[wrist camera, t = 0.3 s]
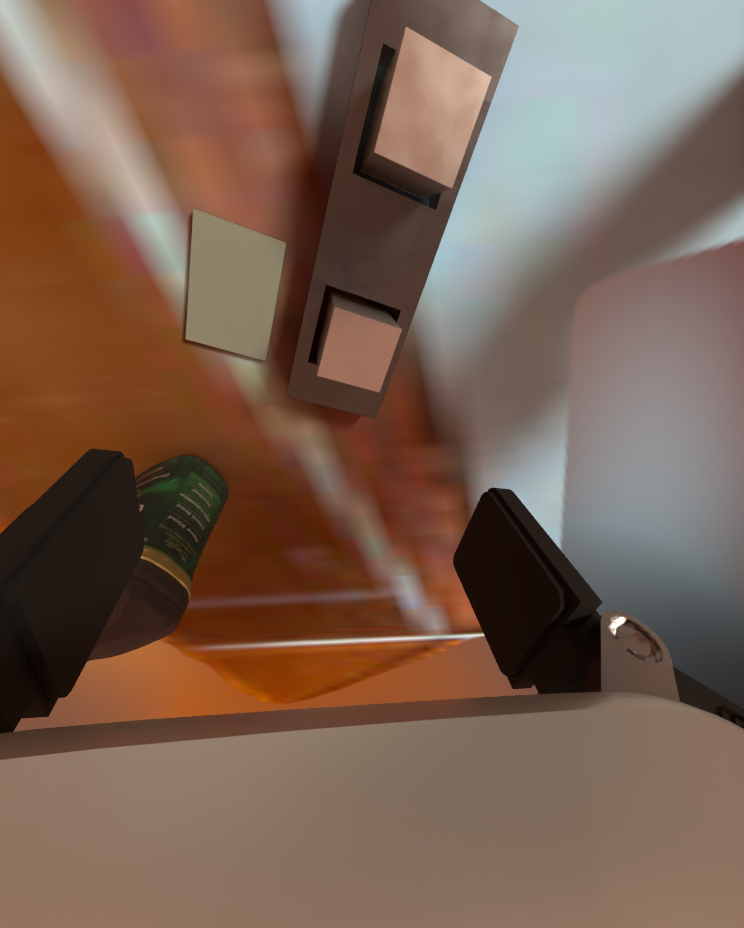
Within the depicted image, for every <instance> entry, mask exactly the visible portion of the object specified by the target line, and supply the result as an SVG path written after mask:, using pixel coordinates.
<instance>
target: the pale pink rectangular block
mask: <svg viewBox="0 0 744 928" xmlns="http://www.w3.org/2000/svg"><path fill="white" fill-rule="evenodd" d="M401 331H402V328H401V327H400V326H399V325H398V324H397V323H396V322H395V320H394V319H393V318H392V317H391V316H390V315H389V313H388V312H387V311H386V310H385V309H382V308H379V307H376V306H373V305H370V304H367V303H364V302H361V301H358V300H355V299H353V298H350V297H347V296H344V295H341V294H338V293H335V292H332V291H331V294H330V298H329V302H328V306H327V310H326V314H325V318H324V322H323V326H322V330H321V334H320V339H319V343H318V347H317V376H320V377H324V378H327V379H331V380H335V381H339V382H342V383H346V384H350V385H353V386H357V387H361V388H364V389H368V390H372V391H375V392H379V393H380V390H381V387H382V384H383V381H384V379H385V376H386V373H387V370H388V367H389V365H390V362H391V359H392V356H393V353H394V350H395V348H396V345H397V342H398V339H399V336H400V334H401Z"/></svg>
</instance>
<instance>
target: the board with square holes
mask: <svg viewBox="0 0 744 928" xmlns="http://www.w3.org/2000/svg"><path fill="white" fill-rule="evenodd" d="M406 27H408V28H410V29H411V30H413V31H415V32H416V33H418V34H420V35H421V36H423V37H425V38H426V39H428V40H430V41H432V42H433V43H435V44H437V45H438V46H440V47H442V48H443V49H445V50H447V51H449V52H450V53H452V54H454V55H455V56H457V57H459V58H460V59H462V60H464V61H466V62H467V63H469V64H471V65H472V66H474V67H476V68H477V69H479V70H481V71H483V72H484V73H486V74H488V75H489V76H491V77H492V78H491V80H490V83H489V86H488V89H487V92H486V95H485V97H484V100H483V103H482V106H481V109H480V111H479V114H478V117H477V120H476V123H475V125H474V128H473V131H472V134H471V137H470V140H469V142H468V145H467V148H466V151H465V154H464V156H463V159H462V162H461V165H460V168H459V170H458V173H457V176H456V179H455V182H454V185H453V187H452V189H449V190H446V191H443V192H440V193H437V194H434V195H431V197H430V200H429V203H428V206H425V205H423V204H421V203H419V202H416V201H414V200H412V199H410V198H407V197H405V196H403V195H401V194H398V193H396V192H394V191H392V190H389V189H387V188H385V187H383V186H380V185H378V184H376V183H374V182H371V181H369V180H367V179H365V178H362V177H360V176H358V175H356V174H353V169H354V164H355V160H356V156H357V152H358V147H359V143H360V139H361V135H362V131H363V126H364V122H365V118H366V114H367V109H368V105H369V101H370V97H371V92H372V88H373V84H374V80H375V76H376V71H377V67H378V63H379V64H381V65H382V66H384V67H386V68H388V67H389V65H390V63H391V61H392V58H393V56H394V54H395V51H396V49H397V47H398V44H399V42H400V40H401V37H402V35H403V33H404V30H405V28H406ZM518 27H519V26H518V25H517V24H515V23H514V22H512V21H511V20H509V19H507V18H506V17H504V16H503V15H501V14H500V13H498V12H497V11H495V10H494V9H492V8H491V7H489V6H488V5H486V4H484V3H483V2H481V1H480V0H371V4H370V9H369V13H368V18H367V22H366V27H365V32H364V36H363V41H362V46H361V50H360V55H359V60H358V64H357V69H356V73H355V78H354V83H353V87H352V92H351V97H350V101H349V106H348V111H347V115H346V120H345V124H344V129H343V134H342V138H341V143H340V148H339V152H338V157H337V162H336V166H335V171H334V176H333V180H332V185H331V189H330V194H329V199H328V203H327V208H326V213H325V217H324V222H323V227H322V231H321V236H320V240H319V245H318V250H317V254H316V259H315V264H314V268H313V273H312V278H311V282H310V287H309V291H308V296H307V301H306V305H305V310H304V315H303V319H302V324H301V329H300V333H299V338H298V342H297V347H296V352H295V356H294V361H293V366H292V370H291V375H290V380H289V384H288V389H287V395H286V397H290V398H294V399H298V400H303V401H307V402H311V403H315V404H319V405H323V406H327V407H331V408H335V409H339V410H343V411H347V412H351V413H355V414H359V415H363V416H367V417H371V418H375V419H376V417H377V414H378V412H379V409H380V406H381V403H382V401H383V398H384V395H385V392H386V390H387V387H388V384H389V381H390V379H391V376H392V373H393V370H394V368H395V365H396V362H397V359H398V357H399V354H400V351H401V348H402V346H403V343H404V340H405V337H406V335H407V332H408V329H409V327H410V324H411V321H412V318H413V316H414V313H415V310H416V307H417V305H418V302H419V299H420V296H421V294H422V291H423V288H424V285H425V283H426V280H427V277H428V274H429V272H430V269H431V266H432V263H433V261H434V258H435V255H436V252H437V250H438V247H439V244H440V241H441V239H442V236H443V233H444V230H445V228H446V225H447V222H448V219H449V217H450V214H451V211H452V208H453V206H454V203H455V200H456V197H457V195H458V192H459V189H460V186H461V184H462V181H463V178H464V175H465V173H466V170H467V167H468V164H469V162H470V159H471V156H472V154H473V151H474V148H475V145H476V143H477V140H478V137H479V134H480V132H481V129H482V126H483V123H484V121H485V118H486V115H487V112H488V110H489V107H490V104H491V101H492V99H493V96H494V93H495V90H496V88H497V85H498V82H499V79H500V77H501V74H502V71H503V68H504V66H505V63H506V60H507V57H508V55H509V52H510V49H511V46H512V44H513V41H514V38H515V35H516V33H517V30H518ZM326 285H329V286H332V287H335V288H338V289H341V290H344V291H347V292H350V293H352V294H355V295H358V296H361V297H364V298H367V299H370V300H373V301H376V302H378V303H381V304H384V305H387V306H390V307H393V311H392V314H391V317H392V318H393V319H394V320H395V322H396V323H397V324H398V325H399V326H400V327H401V328H402V331H401V334H400V336H399V339H398V342H397V345H396V348H395V350H394V353H393V356H392V359H391V362H390V365H389V367H388V370H387V373H386V376H385V379H384V381H383V384H382V387H381V390H380V393H379V392H375V391H372V390H368V389H364V388H361V387H357V386H353V385H350V384H346V383H342V382H339V381H335V380H331V379H327V378H324V377H320V376H317V355H314V354H310V350H311V346H312V342H313V338H314V334H315V329H316V325H317V321H318V317H319V312H320V308H321V304H322V300H323V295H324V291H325V287H326Z"/></svg>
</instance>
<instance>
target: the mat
mask: <svg viewBox="0 0 744 928" xmlns="http://www.w3.org/2000/svg"><path fill="white" fill-rule="evenodd" d="M286 245H287V243H286V242H283V241H280V240H277V239H275V238H272V237H269V236H267V235H264V234H261V233H258V232H256V231H253V230H250V229H248V228H245V227H242V226H239V225H237V224H234V223H231V222H229V221H226V220H223V219H220V218H218V217H215V216H212V215H210V214H207V213H204V212H201V211H199V210H196V209H193V222H192V239H191V256H190V273H189V290H188V307H187V324H186V339H187V340H191V341H194V342H198V343H202V344H205V345H209V346H213V347H216V348H220V349H224V350H227V351H231V352H235V353H238V354H242V355H246V356H249V357H253V358H257V359H260V360H264V361H266V358H267V353H268V347H269V341H270V336H271V330H272V324H273V319H274V313H275V307H276V302H277V296H278V290H279V285H280V279H281V273H282V268H283V262H284V256H285V251H286Z"/></svg>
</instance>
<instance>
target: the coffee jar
mask: <svg viewBox="0 0 744 928" xmlns="http://www.w3.org/2000/svg"><path fill="white" fill-rule="evenodd" d="M135 482H136V489H137V496H138V502H139V509H140V516H141V523H142V530H143V536H144V550H143V553H142V556H141V558H140V560H139V562H138V564H137V566H136V568H135V570H134V571H133V573H132V575H131V577H130V579H129V581H128V583H127V585H126V587H125V589H124V591H123V593H122V595H121V596H120V598H119V600H118V602H117V604H116V606H115V608H114V610H113V612H112V614H111V616H110V618H109V620H108V621H107V623H106V625H105V627H104V629H103V631H102V633H101V635H100V637H99V639H98V641H97V643H96V645H95V646H94V648H93V650H92V652H91V654H90V656H89V658H88V660H87V661H90V660H94V659H102V658H109V657H113V656H117V655H121V654H124V653H127V652H129V651H132V650H135V649H138V648H140V647H143V646H145V645H148V644H150V643H152V642H155V641H157V640H159V639H161V638H163V637H165V636H167V635H169V634H171V633H172V632H173V631H174V630H175V629H176V627H177V626H178V624H179V622H180V620H181V618H182V616H183V614H184V612H185V609H186V607H187V605H188V603H189V600H190V597H191V592H192V578H193V575H194V571H195V569H196V566H197V564H198V561H199V559H200V557H201V554H202V552H203V550H204V548H205V545H206V543H207V541H208V538H209V536H210V534H211V532H212V529H213V528H214V525H215V523H216V521H217V519H218V517H219V515H220V513H221V511H222V509H223V506H224V504H225V502H226V499H227V497H228V488H227V485H226V483H225V481H224V480H223V478H222V477H221V476H220V475H219V473H218V472H217V471H216V470H215V469H214V468H213V467H212V466H211V465H210V464H208V463H207V462H206V461H204V460H203V459H200V458H198V457H195V456H190V455H184V456H179V457H175V458H172V459H170V460H167V461H164V462H162V463H160V464H158V465H156V466H154V467H152V468H150V469H149V470H147V471H145V472H144V473H142V474H141V475H140V476H138V477H137V479H136V480H135Z"/></svg>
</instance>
